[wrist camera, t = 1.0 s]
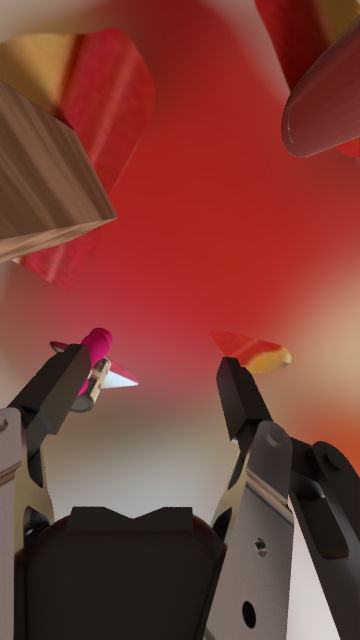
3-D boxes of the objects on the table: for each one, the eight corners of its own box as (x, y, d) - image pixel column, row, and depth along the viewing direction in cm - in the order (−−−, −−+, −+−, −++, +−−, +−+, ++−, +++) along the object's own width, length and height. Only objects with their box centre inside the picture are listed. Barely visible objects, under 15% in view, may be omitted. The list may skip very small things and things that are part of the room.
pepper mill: (83, 332, 48) (33, 397, 32) (102, 322, 46) (57, 387, 30) (101, 348, 52) (64, 414, 35) (119, 339, 50) (88, 405, 33)
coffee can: (72, 355, 54) (42, 396, 42) (99, 348, 52) (76, 389, 40) (91, 374, 59) (70, 415, 48) (117, 368, 57) (100, 410, 46)
